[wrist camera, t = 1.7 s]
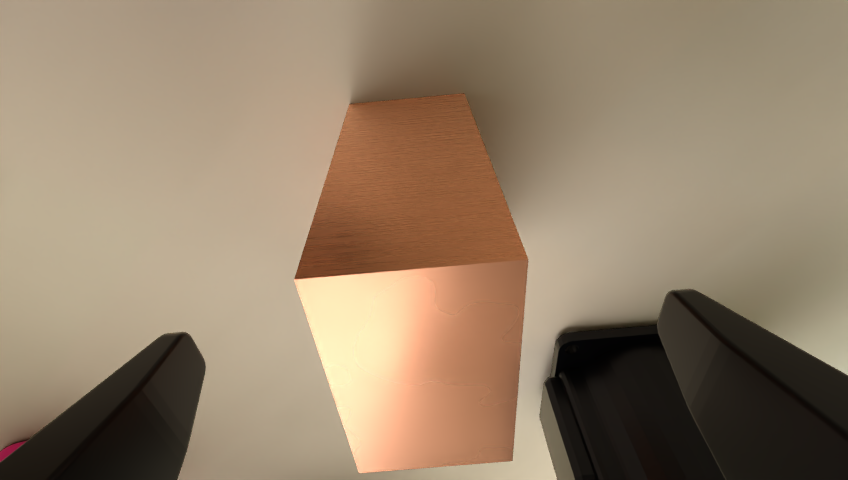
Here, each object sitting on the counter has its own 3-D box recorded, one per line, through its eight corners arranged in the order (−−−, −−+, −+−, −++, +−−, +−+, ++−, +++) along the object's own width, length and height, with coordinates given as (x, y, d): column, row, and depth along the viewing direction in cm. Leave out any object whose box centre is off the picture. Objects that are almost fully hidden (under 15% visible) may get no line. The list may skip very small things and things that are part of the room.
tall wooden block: (464, 93, 11) (527, 259, 5) (468, 247, 14) (512, 461, 8) (349, 104, 11) (293, 279, 6) (376, 255, 14) (359, 473, 8)
